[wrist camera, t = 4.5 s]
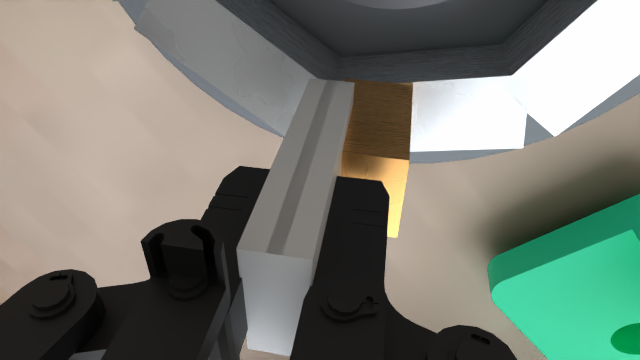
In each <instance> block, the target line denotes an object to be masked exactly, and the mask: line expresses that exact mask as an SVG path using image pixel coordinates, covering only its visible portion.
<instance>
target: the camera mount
mask: <svg viewBox="0 0 640 360" xmlns="http://www.w3.org/2000/svg"><path fill="white" fill-rule="evenodd" d="M488 277H489V284H490V291H491V298H492V301H493V302H494V304H495V305H496V306H497V307H498V308H499V309H500V310H501V311H502V312H503V313H504V314H505V315H506V316H507V317H508V318H509V319H510V320H511V321H512V322H513V323H514V324H515V325H516V326H517V327H518V329H519V330H520V331H521V332H522V333H523V334H524V335H525V336H526V337H527V338H528V339H529V340H530V341H531V342H532V343H533V344H534V345H535V346H536V347H537V348H538V349H539V350H540V351H541V352H542V353H543V354H544V355H545V356H546V357H547V359H548V360H640V194H638V195H635V196H633V197H631V198H628V199H626V200H624V201H621V202H619V203H617V204H614V205H612V206H610V207H608V208H605V209H603V210H601V211H598V212H596V213H594V214H591V215H589V216H587V217H584V218H582V219H580V220H578V221H575V222H573V223H571V224H568V225H566V226H564V227H561V228H559V229H557V230H554V231H552V232H550V233H548V234H545V235H543V236H541V237H538V238H536V239H534V240H531V241H529V242H527V243H524V244H522V245H520V246H518V247H515V248H513V249H511V250H508V251H506V252H504V253H501V254H499V255H497V256H496V257H494V258H493V259H492V260H491V261H490V262H489V264H488Z"/></svg>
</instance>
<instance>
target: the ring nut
mask: <svg viewBox="0 0 640 360" xmlns="http://www.w3.org/2000/svg"><path fill="white" fill-rule="evenodd" d="M112 1H121V0H112ZM134 29H135V30H136V31H138V32H139V33H140V34H142V35H143V36H145V37H146V38H147V39H149V40H150V41H152V42H153V43H154V44H156V45H157V46H159V47H160V48H161V49H163V50H164V51H166V52H167V53H168V54H170V55H171V56H173V57H174V58H175V59H177V60H178V61H180V62H181V63H182V64H184V65H185V66H187V67H188V68H189V69H191V70H192V71H194V72H195V73H196V74H198V75H199V76H201V77H202V78H203V79H205V80H206V81H208V82H209V83H210V84H212V85H213V86H215V87H216V88H217V89H219V90H220V91H222V92H223V93H224V94H226V95H227V96H229V97H230V98H231V99H233V100H234V101H236V102H237V103H238V104H240V105H241V106H243V107H244V108H245V109H247V110H248V111H250V112H251V113H252V114H254V115H255V116H257V117H258V118H259V119H261V120H262V121H264V122H265V123H266V124H268V125H269V126H271V127H272V128H273V129H275V130H276V131H278V132H279V133H280V134H282V135H283V136H285V135H286V132H287V130H288V128H289V125H290V123H291V121H292V118H293V116H294V114H295V111H296V109H297V107H298V104H299V102H300V100H301V97H302V95H303V93H304V90H305V88H306V86H307V83H308V81H309V79H310V78H312V79H323V80H334V81H343V82H355V84H354V98H353V106H352V111H351V115H350V120H349V124H348V129H347V133H346V138H345V142H344V146H343V151H342V163H341V176H343V177H352V178H361V179H370V180H379V181H382V183H383V185H384V186H385V188H386V190H387V192H388V194H389V196H390V201H389V214H388V229H387V236H389V237H396V238H397V235H398V229H399V223H400V216H401V210H402V204H403V198H404V192H405V185H406V179H407V173H408V167H409V161H410V152H417V151H447V150H477V149H507V148H523V144H524V134H525V125H526V116H527V113H528V114H529V115H530V116H531V117H533V118H534V119H535V120H536V121H537V122H538V123H540V124H541V125H542V126H543V127H544V128H545V129H547V130H548V131H549V132H550V133H551V134H552V135H554V136H557V135H558V134H559V133H561V132H562V131H563V130H565V129H566V128H567V127H569V126H570V125H572V124H573V123H574V122H576V121H577V120H578V119H580V118H581V117H582V116H584V115H585V114H586V113H588V112H589V111H590V110H592V109H593V108H594V107H596V106H597V105H598V104H600V103H601V102H603V101H604V100H605V99H607V98H608V97H609V96H611V95H612V94H613V93H615V92H616V91H617V90H619V89H620V88H621V87H623V86H624V85H625V84H627V83H628V82H629V81H631V80H632V79H634V78H635V77H636V76H638V75H639V74H640V0H548V1H547V2H546V3H545V4H544V5H543V6H542V7H541V8H539V9H538V10H537V11H536V12H535V13H534V14H533V15H532V16H531V17H530V18H529V19H528V20H527V21H526V22H525V23H523V24H522V25H521V26H520V27H519V28H518V29H517V30H516V31H515V32H514V33H513V34H512V35H511V36H510V37H509V38H507V39H506V40H505V41H504V42H503V43H502V44H501V45H489V46H477V47H465V48H452V49H440V50H427V51H415V52H402V53H390V54H378V55H365V56H353V57H339V56H338V55H337V54H335V53H334V52H333V51H332V50H330V49H329V48H328V47H327V46H325V45H324V44H323V43H322V42H320V41H319V40H318V39H317V38H315V37H314V36H313V35H311V34H310V33H309V32H308V31H306V30H305V29H304V28H303V27H301V26H300V25H299V24H298V23H296V22H295V21H294V20H292V19H291V18H290V17H289V16H287V15H286V14H285V13H284V12H282V11H281V10H280V9H279V8H277V7H276V6H275V5H273V4H272V3H271V2H270V1H268V0H148V1H147V3H146V5H145V7H144V9H143V11H142V14H141V16H140V18H139V20H138V22H137V24H136V26H135V28H134Z"/></svg>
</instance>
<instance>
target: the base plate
mask: <svg viewBox="0 0 640 360" xmlns="http://www.w3.org/2000/svg"><path fill="white" fill-rule="evenodd" d="M147 1H148V0H121V1H119V3H120V4H121V6H122V7H123V8H124V10H125V11H126V12H127V14H128V15H129V16H130V18H131V19H132V20H133V22H134V23H135V24H137V22H138V20H139V18H140V16H141V14H142V11H143V9H144V7H145V5H146V3H147ZM268 1H270V2H271V3H272V4H273V5H275V6H276V7H277V8H279V9H280V10H281V11H282V12H284V13H285V14H286V15H287V16H289V17H290V18H291V19H292V20H294V21H295V22H296V23H298V24H299V25H300V26H301V27H303V28H304V29H305V30H306V31H308V32H309V33H310V34H311V35H313V36H314V37H315V38H317V39H318V40H319V41H320V42H322V43H323V44H324V45H325V46H327V47H328V48H329V49H330V50H332V51H333V52H334V53H335V54H337V55H338V56H339V57H353V56H365V55H378V54H390V53H402V52H415V51H427V50H440V49H452V48H465V47H477V46H489V45H501V44H502V43H503V42H504V41H505V40H506V39H507V38H509V37H510V36H511V35H512V34H513V33H514V32H515V31H516V30H517V29H518V28H519V27H520V26H521V25H522V24H523V23H525V22H526V21H527V20H528V19H529V18H530V17H531V16H532V15H533V14H534V13H535V12H536V11H537V10H538V9H539V8H541V7H542V6H543V5H544V4H545V3H546V2H547V1H548V0H268ZM151 42H152V41H151ZM152 44H153V45H154V46H155V47H156V48H157V49H158V50H159V51H160V52H161V54H162V55H163V56H164V57H165V58H166V59H167V60H168V61H170V62H171V63H172V64H173V65H174V66H175V67H176V68H177V69H178V70H179V71H181V72H182V73H183V74H184V75H185V76H186V77H187V78H188V79H189V80H190V81H191V82H193V83H194V84H195V85H196V86H197V87H199V88H200V89H202V90H203V91H204V92H206V93H207V94H208V95H210V96H211V97H212V98H214V99H215V100H216V101H218V102H219V103H221V104H222V105H223V106H225V107H226V108H228V109H229V110H231V111H233V112H234V113H236V114H238V115H240V116H241V117H243V118H245V119H246V120H248V121H250V122H251V123H253V124H255V125H257V126H258V127H261V128H263V129H265V130H267V131H269V132H272V133H274V134H276V135H278V136H280V137H283V138H284V137H285V136H283V135H282V134H280V133H279V132H278V131H276V130H275V129H273V128H272V127H271V126H269V125H268V124H266V123H265V122H264V121H262V120H261V119H259V118H258V117H257V116H255V115H254V114H252V113H251V112H250V111H248V110H247V109H245V108H244V107H243V106H241V105H240V104H238V103H237V102H236V101H234V100H233V99H231V98H230V97H229V96H227V95H226V94H224V93H223V92H222V91H220V90H219V89H217V88H216V87H215V86H213V85H212V84H210V83H209V82H208V81H206V80H205V79H203V78H202V77H201V76H199V75H198V74H196V73H195V72H194V71H192V70H191V69H189V68H188V67H187V66H185V65H184V64H182V63H181V62H180V61H178V60H177V59H175V58H174V57H173V56H171V55H170V54H168V53H167V52H166V51H164V50H163V49H161V48H160V47H159V46H157V45H156V44H154V43H153V42H152ZM639 93H640V74H639V75H638V76H636V77H635V78H634V79H632V80H631V81H629V82H628V83H627V84H625V85H624V86H623V87H621V88H620V89H619V90H617V91H616V92H615V93H613V94H612V95H611V96H609V97H608V98H607V99H605V100H604V101H603V102H601V103H600V104H598V105H597V106H596V107H594V108H593V109H592V110H590V111H589V112H588V113H586V114H585V115H584V116H582V117H581V118H580V119H578V120H577V121H576V122H574V123H573V124H572V125H570V126H569V127H567V128H566V129H565V130H563V131H562V132H564V131H567V130H569V129H571V128H574V127H576V126H578V125H580V124H583V123H585V122H587V121H589V120H592V119H594V118H596V117H598V116H600V115H601V114H603V113H605V112H607V111H608V110H610V109H612V108H614V107H616V106H617V105H619V104H621V103H623V102H625V101H626V100H628V99H630V98H632V97H633V96H635V95H637V94H639ZM562 132H561V133H562ZM559 134H560V133H559ZM553 136H554V135H552V134H551V133H550V132H549V131H548V130H547V129H545V128H544V127H543V126H542V125H541V124H540V123H538V122H537V121H536V120H535V119H534V118H533V117H531V116H530V115H529V114H528V113H527V116H526V125H525V134H524V144H523V146H526V145H529V144H532V143H535V142H538V141H541V140H544V139H547V138H550V137H553ZM514 149H517V148H507V149H477V150H447V151H417V152H410V161H409V163H440V162H449V161H457V160H466V159H473V158H478V157H483V156H487V155H492V154H496V153H501V152H506V151H510V150H514Z"/></svg>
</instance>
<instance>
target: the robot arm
mask: <svg viewBox="0 0 640 360" xmlns="http://www.w3.org/2000/svg"><path fill="white" fill-rule="evenodd" d="M354 84H355V82H343V81H334V80H323V79H312V78H310V79H309V81H308V83H307V86H306V88H305V90H304V93H303V95H302V97H301V100H300V102H299V104H298V107H297V109H296V111H295V114H294V116H293V118H292V121H291V123H290V125H289V128H288V130H287V132H286V135H285V137H284V139H283V142H282V144H281V146H280V148H279V151H278V153H277V155H276V158H275V160H274V162H273V165H272V167H271V169H262V168H253V167H244V166H239V167H238V168H236V169H235V170H234V171H232V172H231V173H230V174H228V175H227V176H226V177H225V178H224V179H223V180H222V182H221V184H220V186H219V188H218V189H217V191H216V193H215V196H214V197H213V198H212V200H211V202H210V204H209V207H208V209H206V211H205V213H204V215H203V217H202V218H201V220H197V219H180V220H176V221H172V222H168V223H165V224H163V225H161V226H159V227H157V228H155V229H154V230H152V231H150V232H149V233H148V234H147V235H146V236H145V237H144V238H143V239H142V240H141V244H142V248H143V251H144V255H145V259H146V262H147V266H148V269H149V273H150V276H151V277H150V279H149V280H146V281H143V282H138V283H133V284H125V285H117V286H109V287H101V288H97V285H96V282H95V280H94V278H92V277H91V276H90V275H88V274H87V273H86V272H83V271H78V270H73V269H69V270H60V271H54V272H51V273H48V274H45V275H43V276H40V277H38V278H36V279H34V280H33V281H31V282H30V283H28V284H27V285H25V286H24V287H22V288H21V289H20V290H19V291H17V292H16V293H15V294H14V295H12V296H11V297H10V298H9V299H8V300H6V301H5V302H4V303H3V304H1V305H0V360H240V358H239V354H240V351H241V348H242V345H243V342H244V339H245V336H247V344H248V349H251V350H257V351H264V352H270V353H272V354H278V355H285V356H290V360H517V359H516V357H515V356H514V354H513V353H512V351H511V350H510V348H509V347H508V346H507V345H506V344H505V343H504V342H502V341H501V340H500V339H499V338H497V337H496V336H495V335H494V334H492V333H490V332H487V331H485V330H482V329H480V328H478V327H473V326H464V325H457V326H453V327H449V328H445V329H443V330H441V331H440V332H439V333H438V334H437V333H435V332H433V331H430V330H428V329H426V328H424V327H421V326H419V325H417V324H415V323H413V322H411V321H410V320H408V319H406V318H404V317H403V316H402V315H401V314H400V313H399V312H397V311H396V310H395V309H394V307H393V306H392V305H391V303H390V302H389V300H388V298H387V295H386V293H385V288H384V274H385V260H386V245H387V229H388V214H389V201H390V196H389V194H388V192H387V190H386V188H385V186H384V185H383V183H382V181H379V180H370V179H361V178H352V177H343V176H341V163H342V151H343V146H344V142H345V138H346V133H347V129H348V124H349V120H350V115H351V111H352V106H353V98H354Z"/></svg>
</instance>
